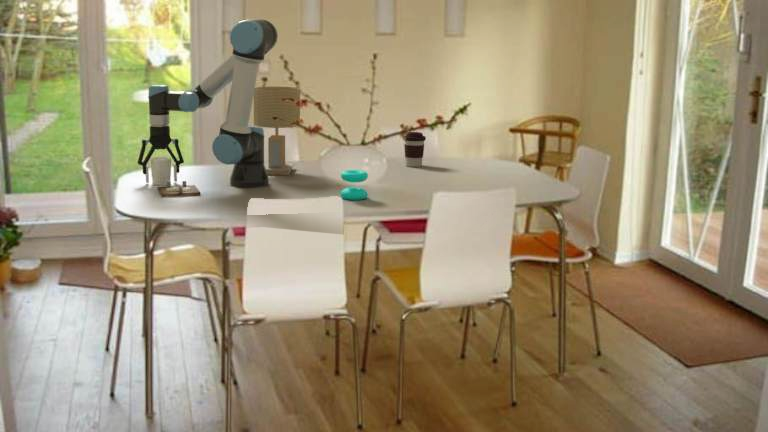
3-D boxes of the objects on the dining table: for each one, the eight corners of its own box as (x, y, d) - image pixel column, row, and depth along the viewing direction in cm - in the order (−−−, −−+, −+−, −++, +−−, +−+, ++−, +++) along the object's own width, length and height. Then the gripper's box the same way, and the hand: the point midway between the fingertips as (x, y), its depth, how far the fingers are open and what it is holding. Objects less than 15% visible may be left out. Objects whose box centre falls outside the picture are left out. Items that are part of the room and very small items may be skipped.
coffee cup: (400, 166, 404) (401, 133, 400) (406, 163, 413) (407, 130, 410) (421, 168, 401) (422, 134, 398) (427, 165, 410) (428, 132, 407)
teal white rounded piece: (345, 168, 340) (371, 170, 338) (345, 194, 343) (370, 196, 340) (337, 172, 331) (363, 174, 328) (337, 199, 333) (362, 201, 331)
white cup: (151, 185, 350) (150, 160, 348) (151, 182, 357) (150, 157, 355) (172, 185, 352) (171, 159, 350) (171, 181, 359) (170, 156, 357)
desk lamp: (297, 176, 376) (297, 91, 368) (250, 175, 376) (249, 90, 368) (302, 168, 395) (302, 87, 387) (257, 167, 395) (257, 86, 387)
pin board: (194, 188, 347) (194, 179, 347) (200, 195, 335) (200, 186, 334) (157, 189, 343) (157, 181, 342) (161, 197, 330) (161, 188, 329)
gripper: (187, 123, 357) (189, 178, 362) (128, 124, 349) (130, 181, 354) (190, 125, 350) (192, 182, 355) (130, 127, 342) (132, 184, 347)
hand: (161, 181), depth 354 cm, fingers open, 10 cm apart
